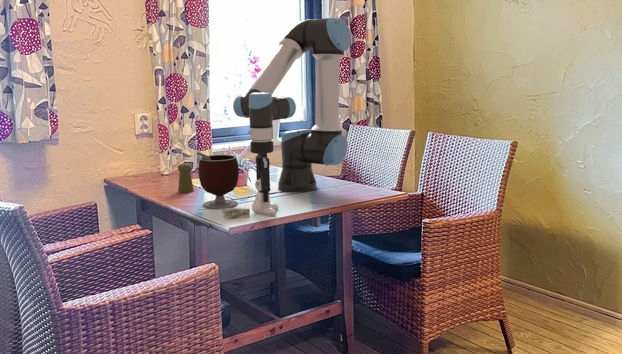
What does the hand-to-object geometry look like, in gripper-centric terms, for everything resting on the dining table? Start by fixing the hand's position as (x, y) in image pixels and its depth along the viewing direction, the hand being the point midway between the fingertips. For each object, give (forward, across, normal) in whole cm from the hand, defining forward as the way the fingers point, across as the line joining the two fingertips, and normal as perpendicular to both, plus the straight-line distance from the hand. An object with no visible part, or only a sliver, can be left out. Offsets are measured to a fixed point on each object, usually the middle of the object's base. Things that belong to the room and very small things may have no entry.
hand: (264, 208), depth 210 cm
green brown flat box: (+1, 0, -10) cm, 10 cm away
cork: (+2, -43, -24) cm, 49 cm away
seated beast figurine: (+2, +1, 0) cm, 2 cm away
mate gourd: (+2, -15, -14) cm, 21 cm away
